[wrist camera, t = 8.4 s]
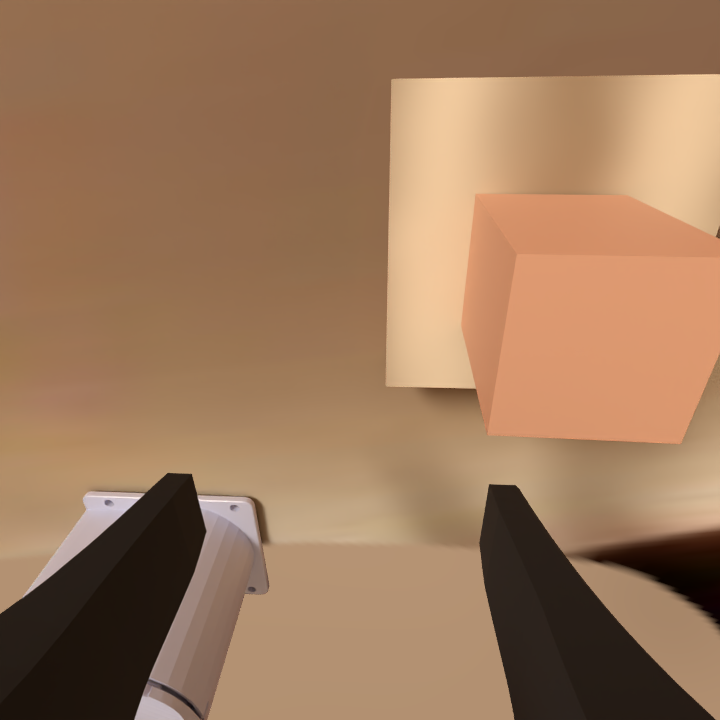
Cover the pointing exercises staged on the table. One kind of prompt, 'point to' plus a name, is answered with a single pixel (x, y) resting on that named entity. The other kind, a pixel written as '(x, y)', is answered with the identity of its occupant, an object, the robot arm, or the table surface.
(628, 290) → the terracotta block
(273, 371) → the table surface
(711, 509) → the table surface
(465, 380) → the birch base block
